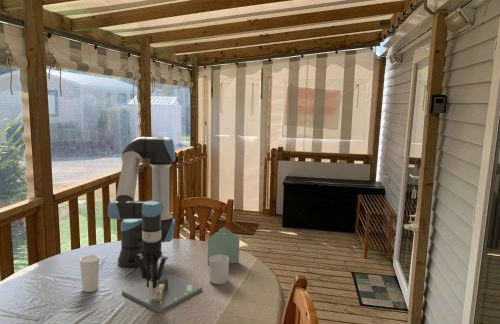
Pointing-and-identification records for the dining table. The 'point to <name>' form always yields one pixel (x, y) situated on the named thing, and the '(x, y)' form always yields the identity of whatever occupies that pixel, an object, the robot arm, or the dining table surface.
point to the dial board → (171, 296)
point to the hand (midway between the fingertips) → (152, 294)
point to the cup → (89, 272)
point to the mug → (219, 269)
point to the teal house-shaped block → (224, 245)
